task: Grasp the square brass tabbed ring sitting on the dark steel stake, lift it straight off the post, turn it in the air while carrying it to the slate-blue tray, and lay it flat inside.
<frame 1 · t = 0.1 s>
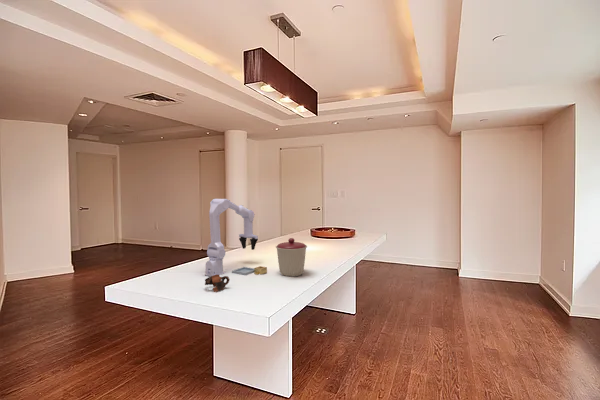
hand: (248, 248, 212), 10 cm above the table, tool pointing down, fingers open, 7 cm apart
brass ring: (260, 273, 189), resting on steel stake
slate tray: (244, 272, 192), on the table
steel stake: (260, 273, 189), on the table
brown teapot: (217, 289, 162), on the table
canister: (291, 274, 188), on the table
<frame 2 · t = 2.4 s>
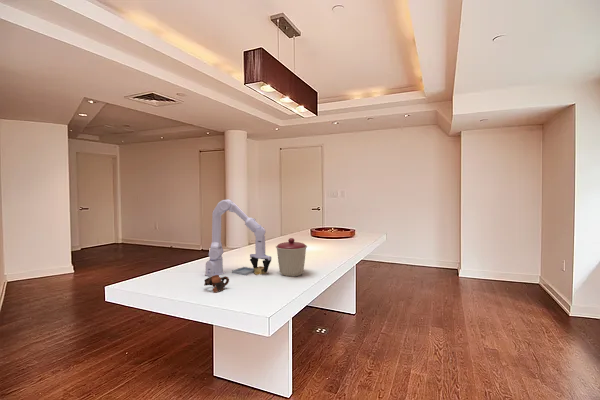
hand: (260, 271, 189), 2 cm above the table, tool pointing down, fingers open, 7 cm apart
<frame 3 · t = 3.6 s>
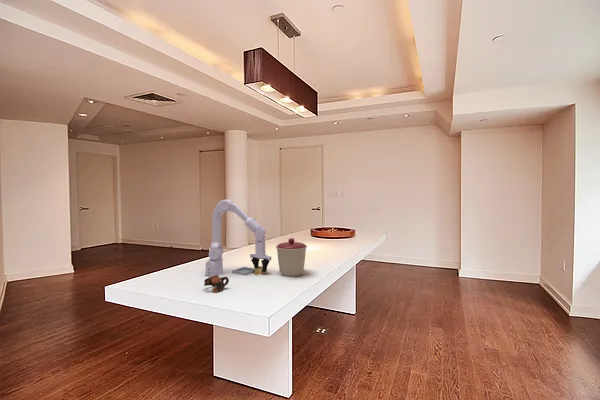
hand: (260, 271, 189), 2 cm above the table, tool pointing down, fingers closed on brass ring, 5 cm apart
brass ring: (260, 273, 189), point 1 cm above the table, touching gripper, steel stake
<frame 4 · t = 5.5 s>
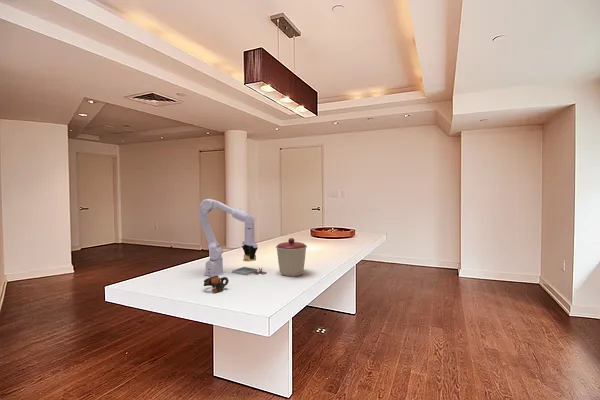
hand: (249, 258, 190), 9 cm above the table, tool pointing down, fingers closed on brass ring, 5 cm apart
brass ring: (249, 260, 190), point 8 cm above the table, touching gripper
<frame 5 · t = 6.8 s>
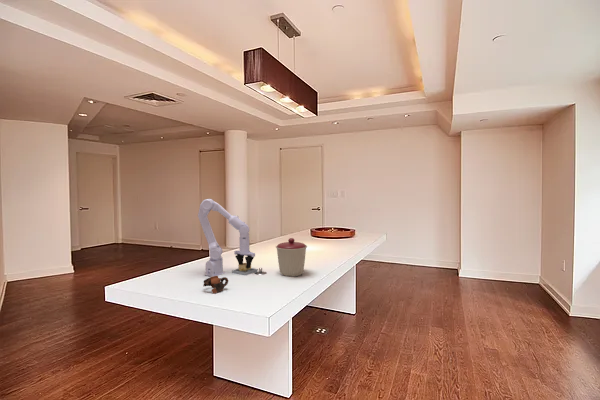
hand: (244, 267, 191), 3 cm above the table, tool pointing down, fingers closed on brass ring, 5 cm apart
brass ring: (244, 269, 191), point 2 cm above the table, touching gripper
when the fingers open (3 cm above the table, at t = 7.9 s): brass ring stays where it is, resting on slate tray.
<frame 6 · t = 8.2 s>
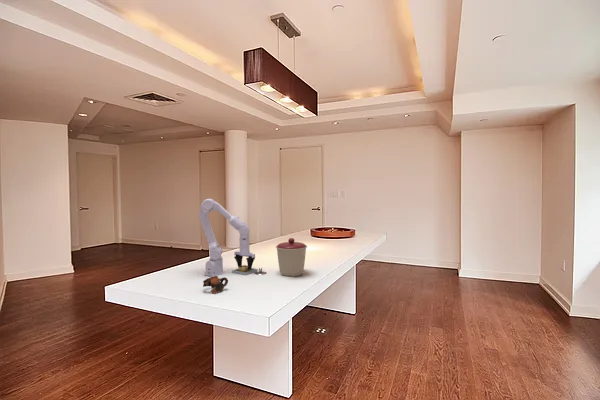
hand: (244, 268, 191), 3 cm above the table, tool pointing down, fingers open, 7 cm apart
brass ring: (244, 271, 192), point 1 cm above the table, touching slate tray
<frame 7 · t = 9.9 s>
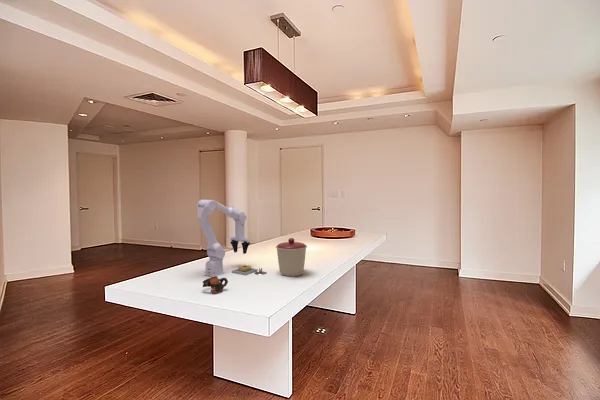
hand: (240, 252, 203), 9 cm above the table, tool pointing down, fingers open, 7 cm apart
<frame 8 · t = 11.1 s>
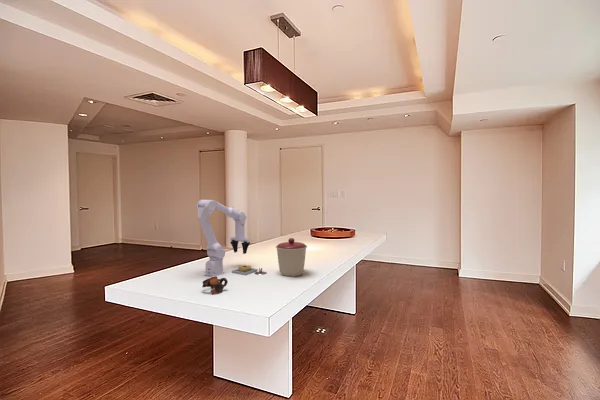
hand: (240, 252, 203), 9 cm above the table, tool pointing down, fingers open, 7 cm apart
at the end: brass ring 0.0 cm off-centre on the slate tray, point 0.6 cm above the slate tray's base; brass ring tilted 0°; the gripper is holding nothing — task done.
